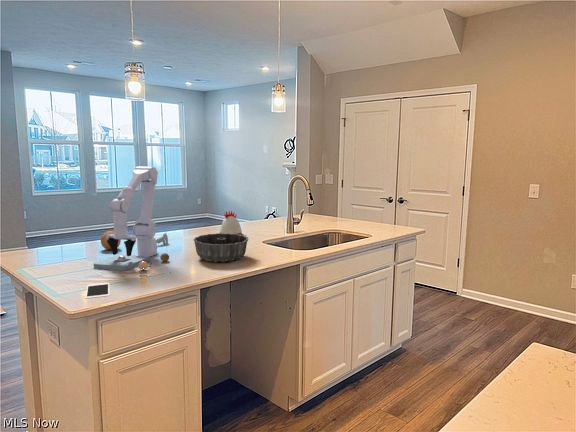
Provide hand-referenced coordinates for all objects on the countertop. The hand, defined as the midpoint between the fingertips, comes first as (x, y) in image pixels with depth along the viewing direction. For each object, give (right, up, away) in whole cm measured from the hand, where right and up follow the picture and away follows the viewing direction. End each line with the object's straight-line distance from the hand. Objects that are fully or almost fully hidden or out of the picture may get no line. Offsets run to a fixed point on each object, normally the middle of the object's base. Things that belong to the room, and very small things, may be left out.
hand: (122, 255), depth 191 cm
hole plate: (0, -4, +1) cm, 4 cm away
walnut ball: (+18, -2, +6) cm, 19 cm away
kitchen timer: (+40, +6, +73) cm, 83 cm away
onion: (-18, 0, +30) cm, 35 cm away
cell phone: (+5, -10, -35) cm, 37 cm away
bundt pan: (+43, -3, +14) cm, 45 cm away
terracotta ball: (+13, -4, -9) cm, 16 cm away
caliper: (+3, +1, +37) cm, 37 cm away
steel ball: (0, -2, 0) cm, 2 cm away
